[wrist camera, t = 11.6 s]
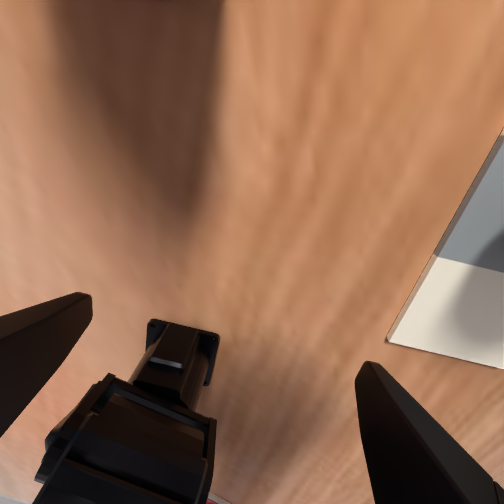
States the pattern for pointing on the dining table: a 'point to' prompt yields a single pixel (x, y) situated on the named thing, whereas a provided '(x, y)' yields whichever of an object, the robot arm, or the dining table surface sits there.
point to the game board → (464, 279)
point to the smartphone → (215, 499)
